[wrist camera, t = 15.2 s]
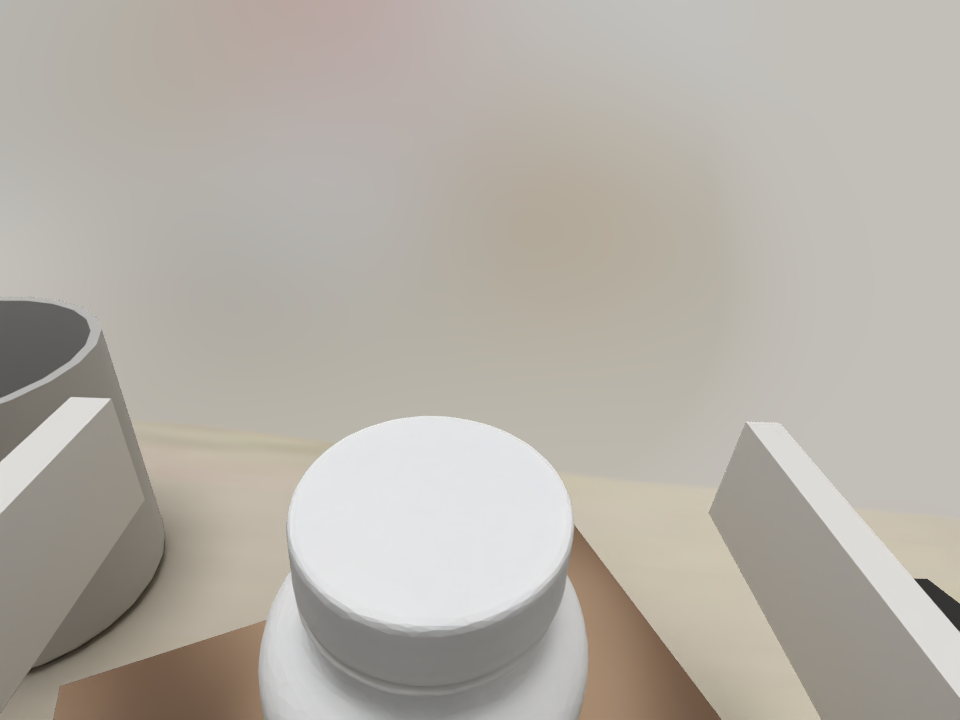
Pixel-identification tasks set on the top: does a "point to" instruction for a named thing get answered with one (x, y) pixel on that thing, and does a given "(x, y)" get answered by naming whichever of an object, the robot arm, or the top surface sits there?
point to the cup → (35, 397)
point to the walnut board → (235, 655)
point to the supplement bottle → (427, 582)
